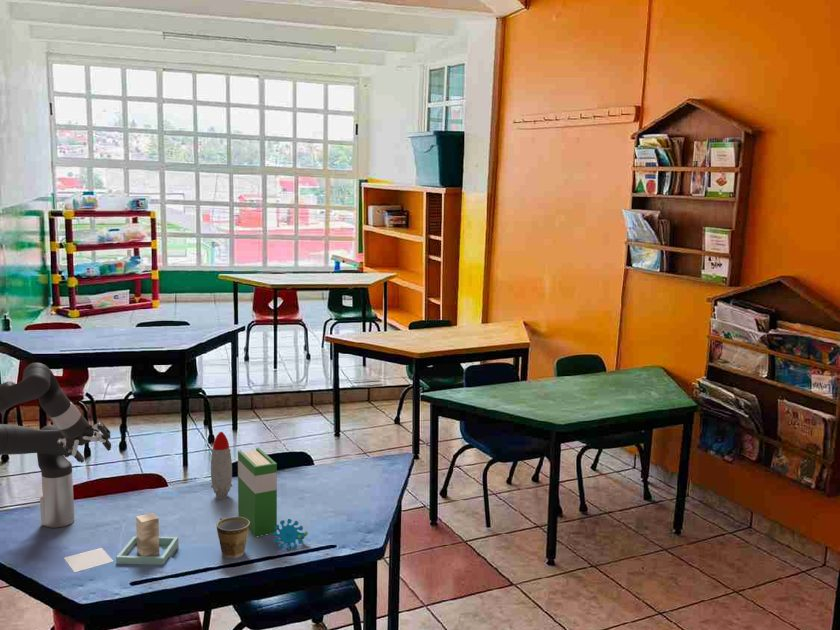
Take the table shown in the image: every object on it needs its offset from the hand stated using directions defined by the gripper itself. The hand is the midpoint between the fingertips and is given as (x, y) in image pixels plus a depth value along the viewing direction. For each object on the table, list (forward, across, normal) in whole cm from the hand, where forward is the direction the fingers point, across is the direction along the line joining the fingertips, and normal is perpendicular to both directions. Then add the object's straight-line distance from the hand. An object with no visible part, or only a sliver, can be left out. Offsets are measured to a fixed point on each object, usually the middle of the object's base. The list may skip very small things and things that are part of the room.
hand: (96, 454), depth 228 cm
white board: (+20, -13, -22) cm, 32 cm away
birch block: (+26, +3, -23) cm, 35 cm away
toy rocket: (+52, +20, +15) cm, 58 cm away
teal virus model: (+44, +41, -28) cm, 67 cm away
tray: (+27, +2, -23) cm, 35 cm away
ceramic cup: (+36, +24, -27) cm, 52 cm away
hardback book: (+47, +32, -11) cm, 58 cm away
